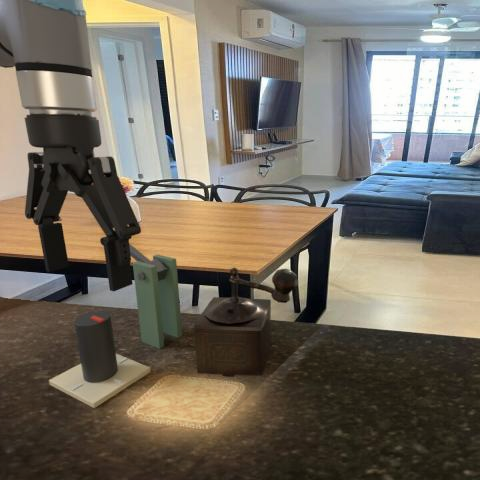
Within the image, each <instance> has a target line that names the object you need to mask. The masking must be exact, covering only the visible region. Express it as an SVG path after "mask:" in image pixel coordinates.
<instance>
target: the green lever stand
mask: <svg viewBox="0 0 480 480" xmlns="http://www.w3.org/2000/svg"><path fill="white" fill-rule="evenodd" d="M155 259H158V260H159V261H160V262H161V263H163V264H164V265H165V266H166V267H167V268H168V270H167V274H166V277H165V279H163V280H161V281H158V276H157V266H155V265H151V264H147V263H143V262H139V261H136V260H135V261H134V262H133V261H132V270H133V278H134V279H133V280H134V287H135V295H136V303H137V304H136V305H137V312H138V321H139V332H140V341H141V343H143V344H146V345H148V346H151V347H154V348H156V349H158V350H161V349H162V348H164V347H165V340H164V339H165V338H164V334H165V335H169V336H171V337H174V338H178V339H179V338H180V337H182V336H183V328H182V314H181V304H180V303H181V302H180V290H179V279H178V278H179V277H178V266H177V258H175V257H171V256H167V255H161V254H158V253H157V254H154V255H152V260H155Z"/></svg>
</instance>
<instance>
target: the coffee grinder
mask: <svg viewBox="0 0 480 480" xmlns="http://www.w3.org/2000/svg"><path fill="white" fill-rule="evenodd" d="M229 274H230V277H229V279H228V281H229V282H231V297H221V296H217V297H216V296H213V297H212V299H210V301H209V302H208V304H207V305H206V307H205V308H204V309H203V311H202V312H201V314H200V315H199V316H198V318H197V320H196V321H195V323H194V324H193V331H194V332H193V333H194V346H195V347H194V348H195V359H196V371H197V374H205V375H221V377H226V378H234V376H263V373H264V371H265V368H266V366H267V364H268V360H269V356H270V351H271V347H272V346H271V345H272V337H271V336H272V331H271V330H272V328H271V327H272V325H271V320H272V319H271V317H272V316H271V313H272V312H271V311H272V306H271V305H272V304H271V303H272V301H271V299H267V298H266V299H265V298H248V297H247V298H246V297H241V296H239V294H238V293H239V291H238V289H239V288H238V284H239V285H240V286H243V287H246V288H251V289H255V290H260V291H264V292H266V293H269V294H271V295H270V296H271V298H272V299H273V301H275V302H277V303H282V304H286V303H289V302H290V300H291V296H290V293H292V291H293V290H294V289H296V288H297V287H298V285H299V279H298V275H297V274H296V273H295V272H293V270H291V269H289V268H280V269H276V271H275V272H274V274H273V276H272V277H271V283H272V284H273V286H274V287H271V286H269V285H265V284H261V283H258V282H253V281H249V280H245V279H242V278H240V277H239V269H238V268H237V267H232V268H231V269H229Z"/></svg>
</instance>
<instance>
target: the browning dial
mask: <svg viewBox="0 0 480 480" xmlns="http://www.w3.org/2000/svg"><path fill="white" fill-rule="evenodd" d="M73 323H74V329H75V335H76V341H77V347H78V355H79V360H80V364H81V366H82V372H83V378H84V380H85V381H87V382H90V383H96V382H102V381H105V380H107V379H109V378H111V377H113V376H114V375H115V374H116V373H117V371H118V367H117V359H116V354H117V353H116V346H115V338H114V333H113V332H114V331H113V324H112V318H111V313H110V312H108V311H106V310H105V311H104V310H96V311H95V310H94V311H90V312H85V313H83V314H81V315H79V316H78V317H77V316H76V318H75V319H74V320H73Z"/></svg>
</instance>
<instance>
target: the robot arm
mask: <svg viewBox="0 0 480 480" xmlns="http://www.w3.org/2000/svg"><path fill="white" fill-rule="evenodd" d="M86 16H87V11H86V9H85V7H84V3H83V0H0V68H4V69H6V68H7V69H10V68H11V69H12V68H14V67H15V77H16V82H17V86H18V92H19V97H20V101H21V107H22V108H23V109H24V110H29V111H28V113H29V114H26V115H25V117H24V123H25V128H26V134H27V139H28V143H29V145H30V146H32V147H33V148H39V149H40V148H41V149H42V151H34V152H33V151H32V152H28V153H27V164H28V174H27V175H28V177H27V187H26V195H25V196H26V198H25V206H24V216H25V218H26V219H27V220H31V219H32V220H33V223H34V225H35V226H37V229H38V234H39V240H40V245H41V250H42V255H43V261H44V267H45V271H46V272H48V273H51V272H55V271H58V270H61V269H65V268H68V267H70V265H69V258H68V254H67V252H68V251H67V246H66V241H65V235H64V229H63V223H62V222H61V221H63V219H62V217H61V216H60V213H61V210H62V208H63V206H64V203H65V200H66V198H67V195H68V193H74V195H75V196H76V197H79V198H81V200H83V202H84V204H85V205H86V207H87V208H88V210H89V211H90V213H91V214H92V216H93V218H94V219H95V220H96V222H97V224H98V225H99V227H100V229H101V230H102V231H103V233H104V235H105V236H104V237H105V238H104V240H103V245H104V246H103V245H102V246H103V251H104V259H105V266H106V273H107V279H108V287H109V291H111V292H116V291H119V290H121V289H124V288H126V287H130V286H131V285H133V276H132V268H131V263H132V257H131V255H130V246H129V244H130V239H129V238H130V237H131V236H132V237H133V236H136V235H140V234H141V233H142V228H141V225H140V223H139V221H138V219H137V216H136V214H135V212H134V210H133V208H132V205H131V203H130V200H129V197H128V196H127V194H126V192H125V189H124V187H123V185H122V183H121V181H120V177H119V175H118V170H117V167H116V161H115V158H114V157H113V156H96V155H95V152H94V150H95V148H98V147H101V145H102V136H101V127H100V120H99V119H97V117H96V116H93V115H92V113H95V112H96V111H98V107H97V101H96V95H95V93H96V92H95V87H94V81H93V72H92V71H93V68H92V60H91V51H90V42H89V33H88V26H87V25H88V24H87V17H86ZM106 236H107V237H106ZM132 237H131V238H132Z"/></svg>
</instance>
